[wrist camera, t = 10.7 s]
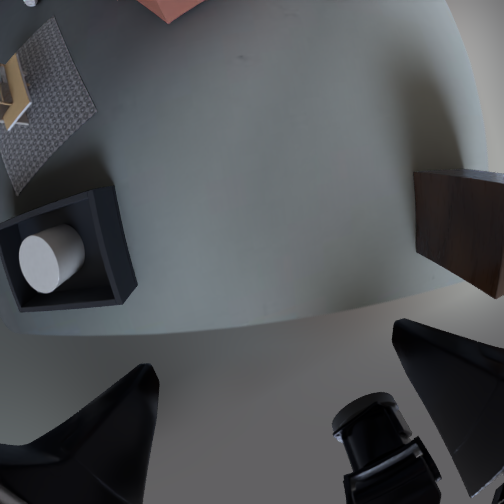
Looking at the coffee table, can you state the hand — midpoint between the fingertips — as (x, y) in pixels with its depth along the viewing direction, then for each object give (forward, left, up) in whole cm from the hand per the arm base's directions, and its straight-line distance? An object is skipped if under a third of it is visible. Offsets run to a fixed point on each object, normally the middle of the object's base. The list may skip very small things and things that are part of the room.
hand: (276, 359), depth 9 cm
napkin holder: (-1, +26, -12) cm, 28 cm away
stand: (+14, -10, -12) cm, 21 cm away
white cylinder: (-9, +13, -11) cm, 19 cm away
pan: (-9, +13, -12) cm, 20 cm away
